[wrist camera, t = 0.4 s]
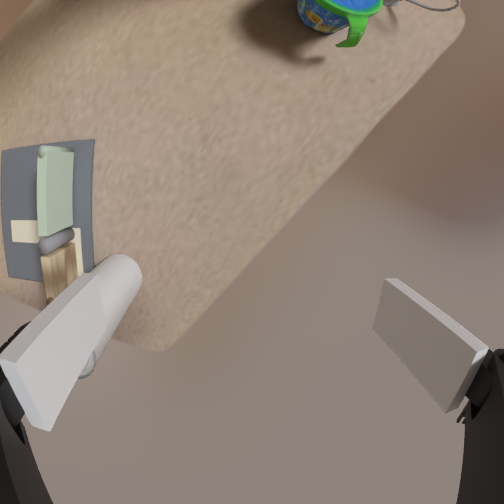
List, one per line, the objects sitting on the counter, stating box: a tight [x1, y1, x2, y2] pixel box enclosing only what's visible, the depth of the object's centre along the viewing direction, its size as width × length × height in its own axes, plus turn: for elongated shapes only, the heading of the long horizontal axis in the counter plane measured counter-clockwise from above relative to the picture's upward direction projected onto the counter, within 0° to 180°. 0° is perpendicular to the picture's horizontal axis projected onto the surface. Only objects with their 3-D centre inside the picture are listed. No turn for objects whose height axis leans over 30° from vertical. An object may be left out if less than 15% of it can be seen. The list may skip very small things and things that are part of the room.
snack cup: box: [297, 0, 383, 47], centre depth 25 cm, size 16×10×10 cm
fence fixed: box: [41, 242, 78, 305], centre depth 32 cm, size 7×2×8 cm, turn 175°
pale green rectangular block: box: [37, 145, 75, 255], centre depth 29 cm, size 13×2×7 cm, turn 175°
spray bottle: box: [77, 254, 142, 379], centre depth 26 cm, size 7×7×25 cm
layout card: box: [1, 139, 95, 282], centre depth 33 cm, size 21×18×1 cm
